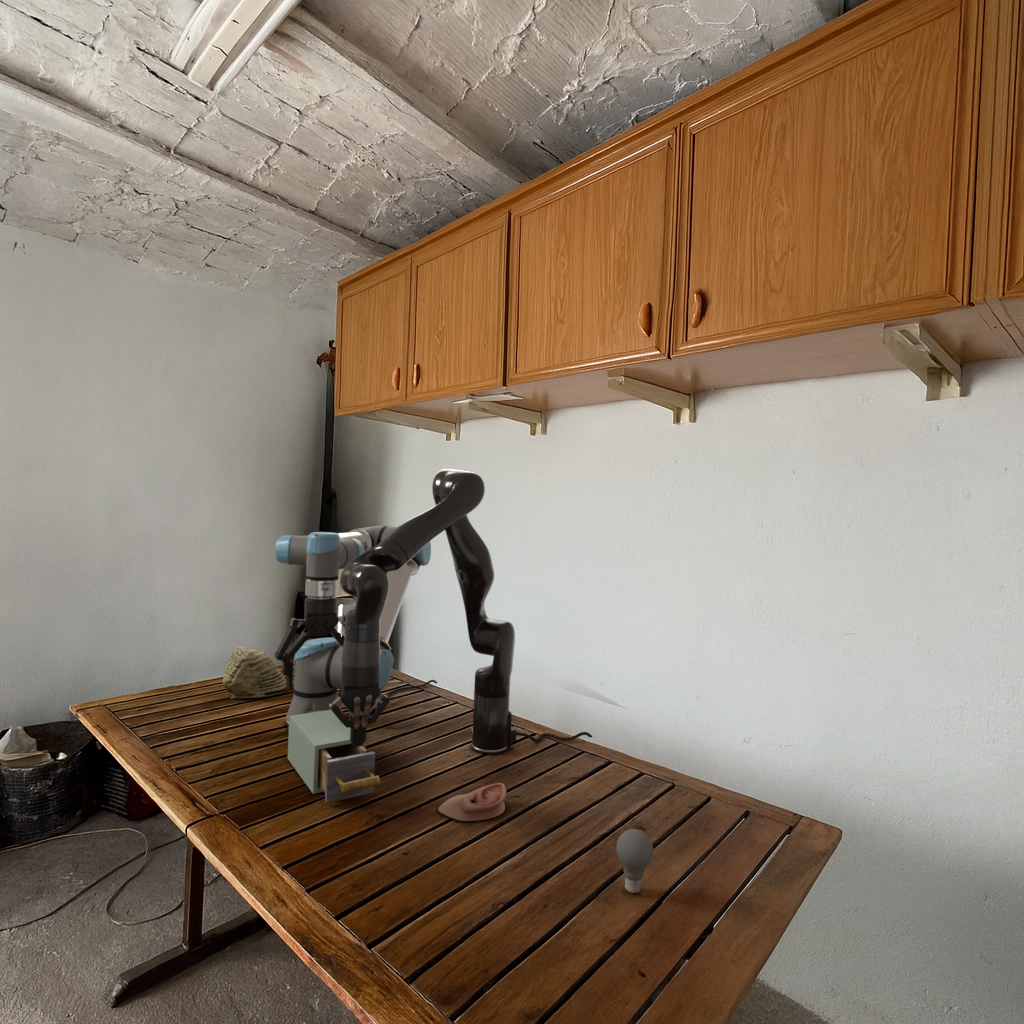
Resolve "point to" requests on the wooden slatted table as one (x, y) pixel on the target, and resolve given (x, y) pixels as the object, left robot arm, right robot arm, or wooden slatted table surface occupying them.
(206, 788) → the wooden slatted table surface
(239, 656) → the fossil
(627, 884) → the light bulb
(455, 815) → the anatomical model
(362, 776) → the drawer
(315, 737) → the cabinet
